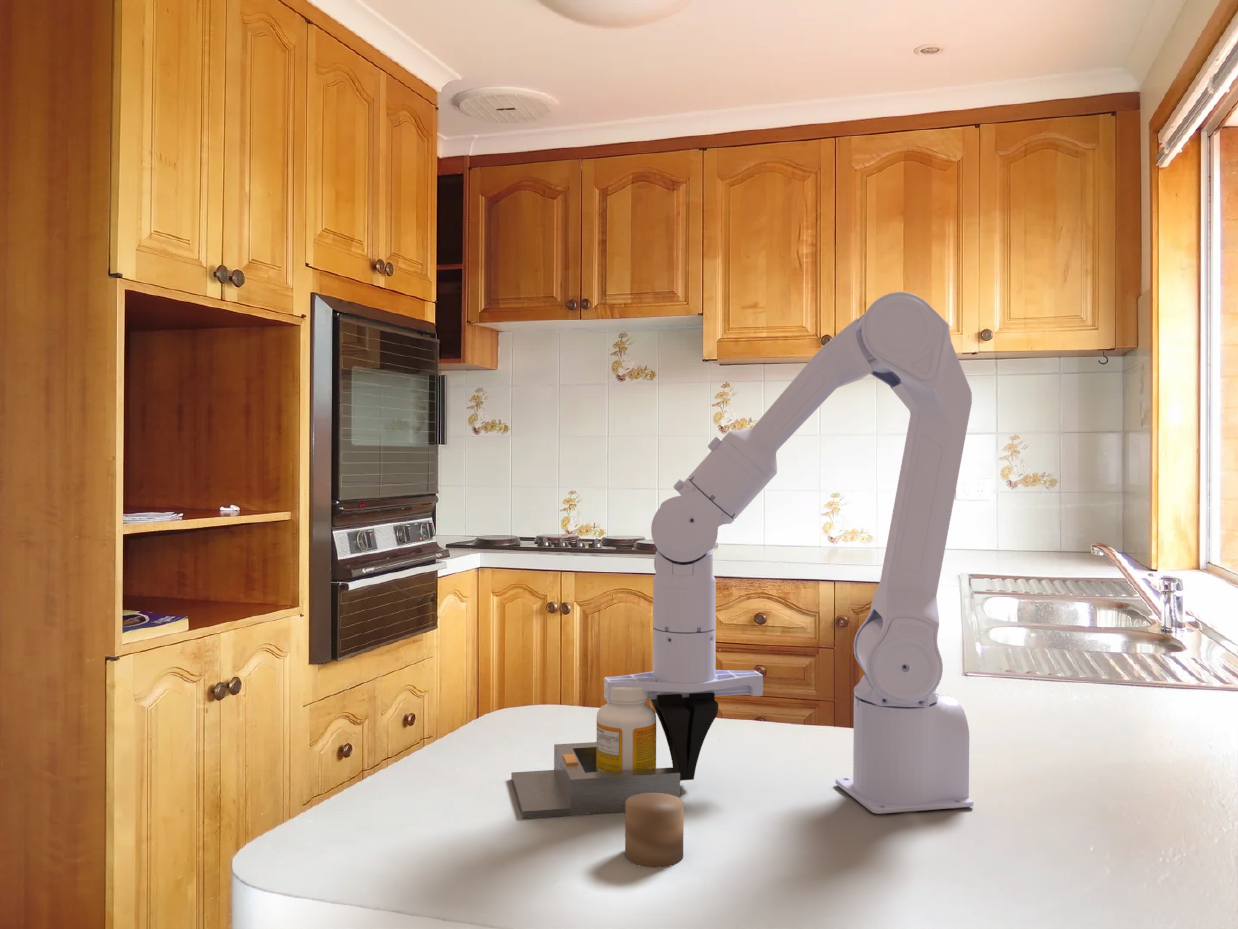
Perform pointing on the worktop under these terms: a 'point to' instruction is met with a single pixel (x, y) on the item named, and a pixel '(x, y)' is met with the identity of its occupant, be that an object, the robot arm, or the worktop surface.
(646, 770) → the socket
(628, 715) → the supplement bottle
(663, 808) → the knob
